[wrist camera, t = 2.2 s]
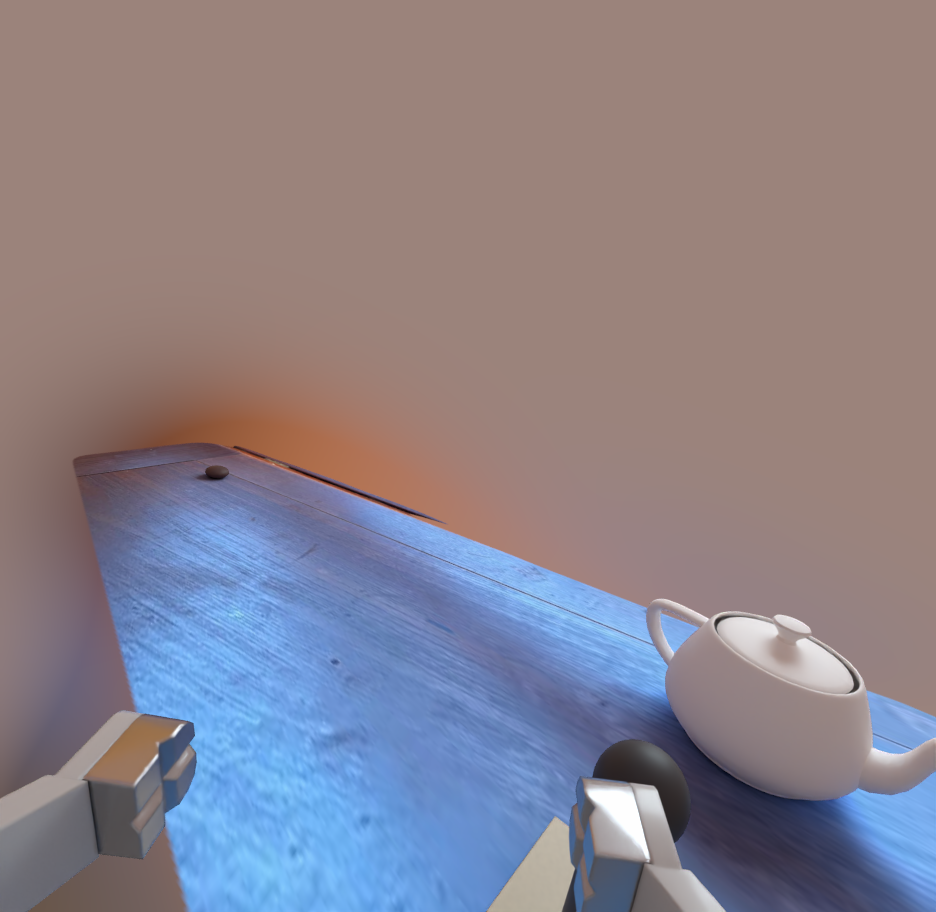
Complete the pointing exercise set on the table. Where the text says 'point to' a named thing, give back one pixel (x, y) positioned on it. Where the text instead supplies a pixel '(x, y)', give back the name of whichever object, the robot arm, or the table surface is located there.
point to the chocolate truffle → (217, 471)
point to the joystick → (548, 863)
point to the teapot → (779, 708)
